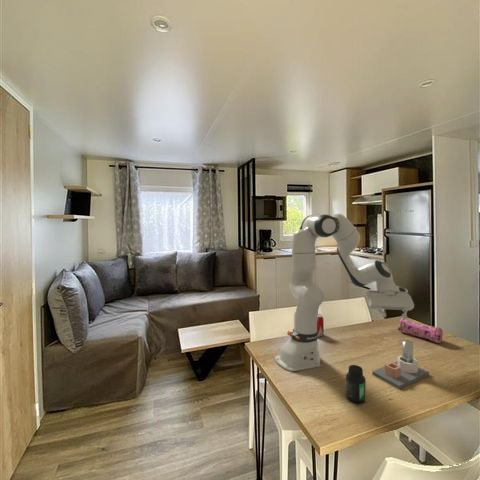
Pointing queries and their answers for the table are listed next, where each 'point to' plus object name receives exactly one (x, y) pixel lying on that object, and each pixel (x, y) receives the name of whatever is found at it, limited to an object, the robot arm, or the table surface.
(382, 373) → the holder board
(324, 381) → the table surface
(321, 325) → the soda can
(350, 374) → the supplement bottle
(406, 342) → the metal peg
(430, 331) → the pencil case
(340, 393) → the table surface
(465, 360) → the table surface
